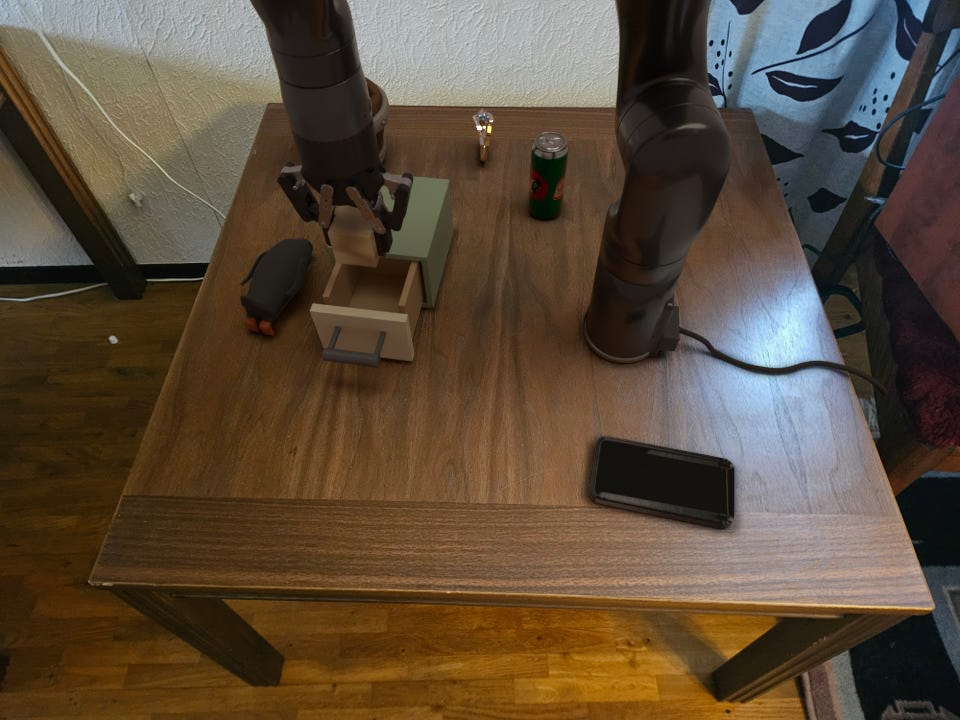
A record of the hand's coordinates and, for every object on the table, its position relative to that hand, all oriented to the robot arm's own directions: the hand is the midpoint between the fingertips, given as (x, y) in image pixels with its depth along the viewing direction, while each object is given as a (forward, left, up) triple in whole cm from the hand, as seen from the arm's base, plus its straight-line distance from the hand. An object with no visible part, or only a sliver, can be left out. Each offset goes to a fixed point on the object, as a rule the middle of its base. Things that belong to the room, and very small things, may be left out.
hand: (361, 248), depth 71 cm
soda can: (-19, -25, -14) cm, 35 cm away
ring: (-8, -36, -14) cm, 40 cm away
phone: (-36, +17, -14) cm, 42 cm away
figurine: (+14, -4, -14) cm, 20 cm away
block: (0, 0, 0) cm, 0 cm away
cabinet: (0, -11, -14) cm, 18 cm away
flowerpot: (+13, -32, -14) cm, 38 cm away
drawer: (0, +1, -13) cm, 13 cm away
